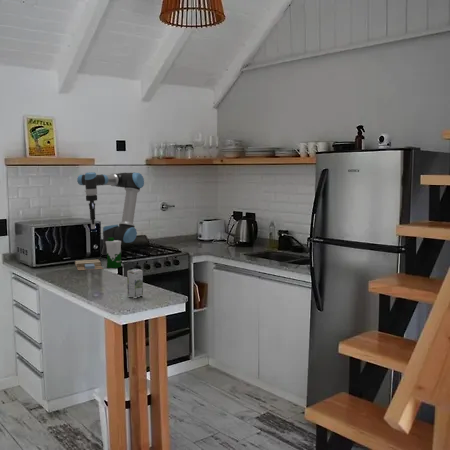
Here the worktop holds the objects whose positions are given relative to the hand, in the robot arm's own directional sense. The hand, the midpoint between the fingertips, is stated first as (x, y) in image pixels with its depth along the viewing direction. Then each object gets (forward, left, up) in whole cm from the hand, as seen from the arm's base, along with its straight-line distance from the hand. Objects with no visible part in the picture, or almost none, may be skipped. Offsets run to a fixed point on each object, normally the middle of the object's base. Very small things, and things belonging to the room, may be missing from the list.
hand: (93, 228), depth 378 cm
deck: (+4, -5, -25) cm, 26 cm away
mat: (+15, -5, -25) cm, 30 cm away
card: (+15, -5, -25) cm, 29 cm away
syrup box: (+106, +8, -25) cm, 110 cm away
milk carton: (+17, +11, -25) cm, 32 cm away
